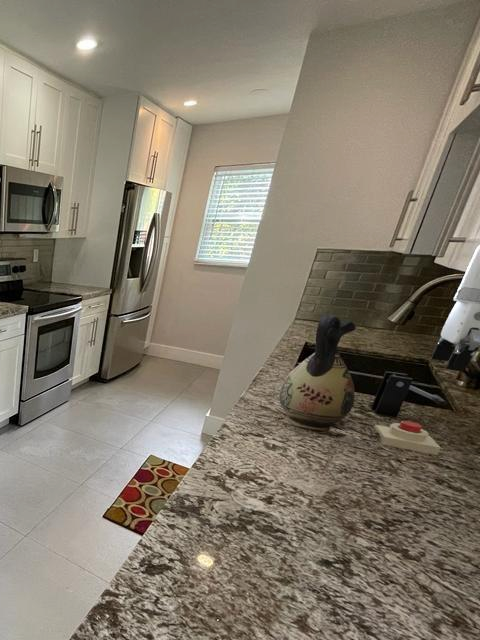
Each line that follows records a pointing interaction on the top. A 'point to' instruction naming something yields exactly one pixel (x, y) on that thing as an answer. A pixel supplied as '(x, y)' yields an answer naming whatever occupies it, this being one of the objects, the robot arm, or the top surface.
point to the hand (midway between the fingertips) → (446, 364)
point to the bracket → (391, 394)
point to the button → (410, 426)
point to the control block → (407, 439)
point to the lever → (427, 395)
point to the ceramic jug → (320, 381)
